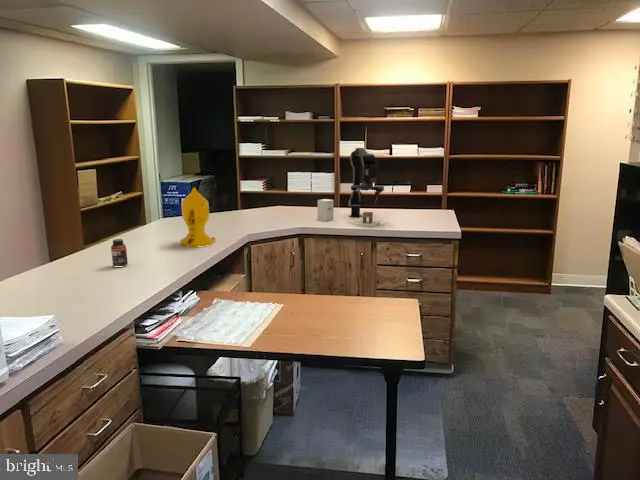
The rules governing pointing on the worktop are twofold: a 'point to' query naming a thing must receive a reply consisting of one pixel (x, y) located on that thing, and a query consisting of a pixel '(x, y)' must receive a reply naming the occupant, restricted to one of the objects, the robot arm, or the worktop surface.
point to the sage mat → (367, 223)
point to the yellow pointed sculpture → (196, 220)
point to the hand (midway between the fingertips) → (367, 202)
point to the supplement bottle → (119, 253)
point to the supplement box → (325, 210)
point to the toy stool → (367, 216)
